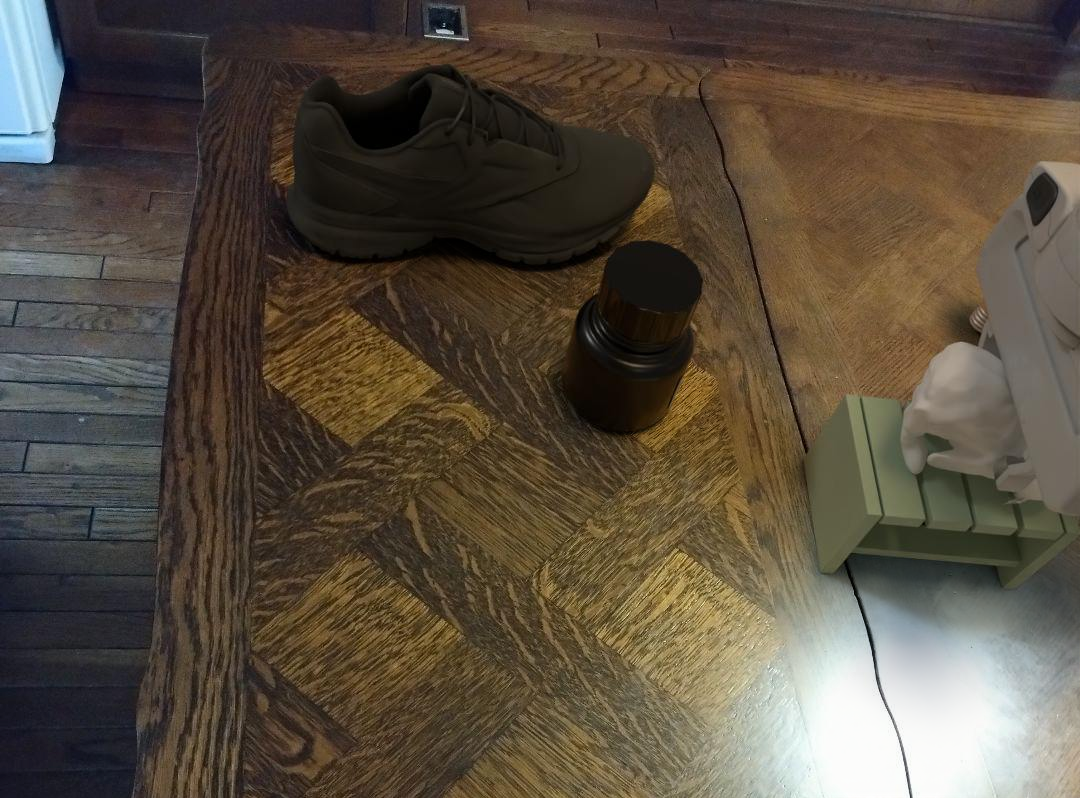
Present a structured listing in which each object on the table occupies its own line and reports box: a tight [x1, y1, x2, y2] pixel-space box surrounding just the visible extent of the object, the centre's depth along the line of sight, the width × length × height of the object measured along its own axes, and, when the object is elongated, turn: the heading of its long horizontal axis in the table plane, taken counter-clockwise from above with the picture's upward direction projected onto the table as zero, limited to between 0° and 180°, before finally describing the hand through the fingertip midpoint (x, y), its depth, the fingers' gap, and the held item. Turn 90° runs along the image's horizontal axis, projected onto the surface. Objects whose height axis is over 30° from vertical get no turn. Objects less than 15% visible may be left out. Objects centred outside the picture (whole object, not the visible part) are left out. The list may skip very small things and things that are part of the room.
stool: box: [802, 393, 1080, 590], centre depth 71 cm, size 15×10×8 cm, turn 89°
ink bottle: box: [561, 239, 704, 432], centre depth 72 cm, size 10×9×12 cm
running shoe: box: [285, 62, 656, 266], centre depth 78 cm, size 11×30×14 cm, turn 105°
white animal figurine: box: [901, 341, 1043, 506], centre depth 64 cm, size 6×8×12 cm
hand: (990, 429), depth 64 cm, fingers open, 7 cm apart
